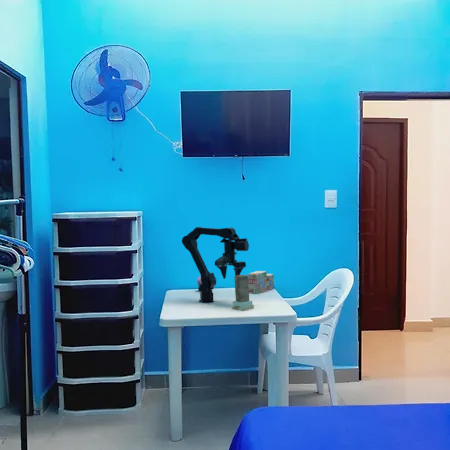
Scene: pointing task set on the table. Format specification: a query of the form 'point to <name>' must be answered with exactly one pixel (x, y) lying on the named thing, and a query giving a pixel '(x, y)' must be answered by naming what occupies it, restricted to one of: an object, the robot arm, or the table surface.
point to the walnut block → (241, 288)
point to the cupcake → (199, 281)
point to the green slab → (242, 303)
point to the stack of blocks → (260, 282)
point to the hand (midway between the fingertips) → (230, 279)
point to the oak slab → (242, 307)
